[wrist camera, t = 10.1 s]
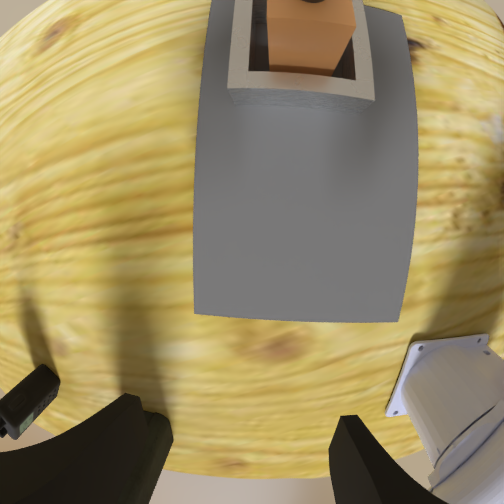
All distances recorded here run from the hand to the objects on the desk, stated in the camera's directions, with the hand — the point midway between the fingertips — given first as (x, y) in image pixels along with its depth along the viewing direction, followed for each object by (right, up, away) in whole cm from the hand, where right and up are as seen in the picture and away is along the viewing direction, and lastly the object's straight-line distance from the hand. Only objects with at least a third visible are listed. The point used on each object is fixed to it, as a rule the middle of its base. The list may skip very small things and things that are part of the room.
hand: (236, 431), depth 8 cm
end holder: (+3, +19, +6) cm, 20 cm away
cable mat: (+4, +13, +8) cm, 16 cm away
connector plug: (+3, +18, +6) cm, 19 cm away
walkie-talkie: (-23, -8, +14) cm, 28 cm away
